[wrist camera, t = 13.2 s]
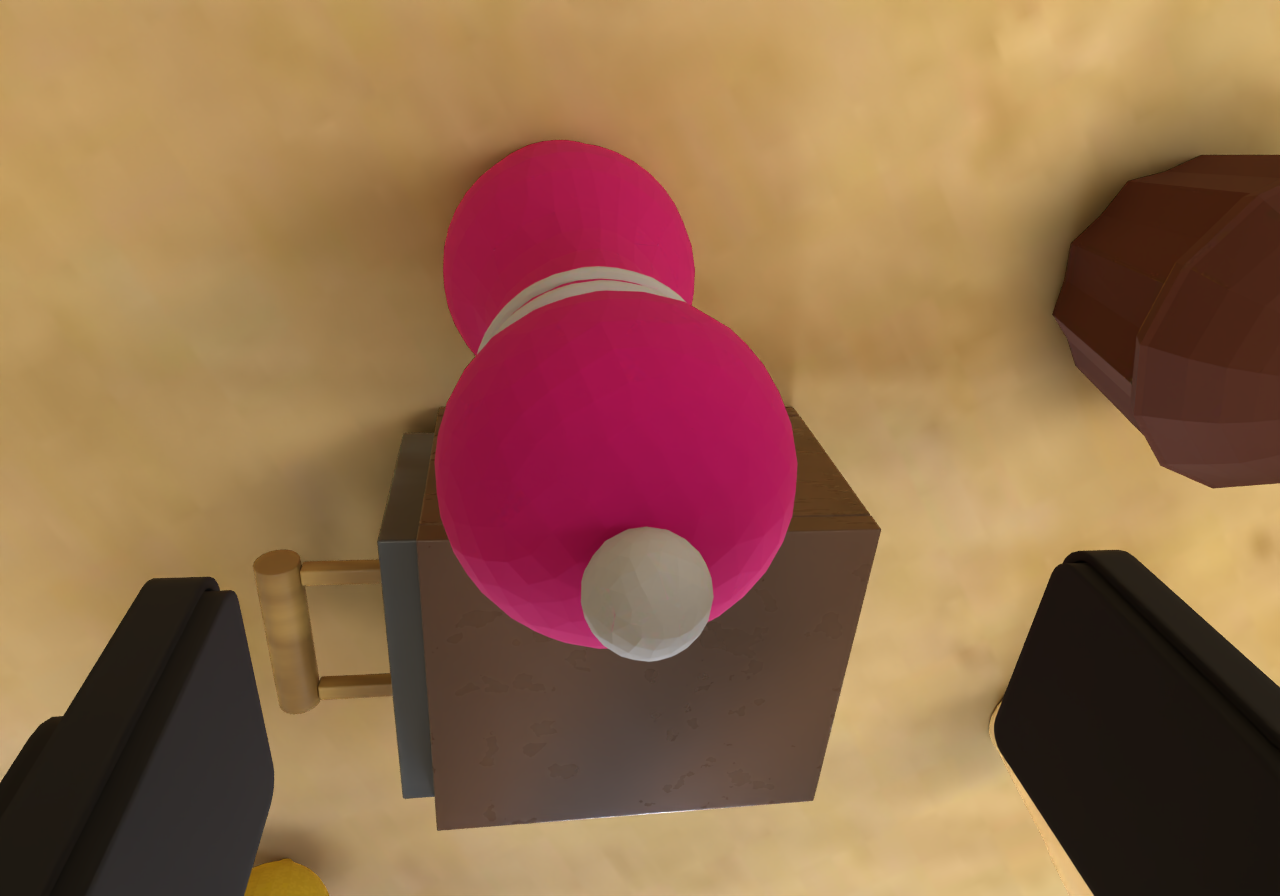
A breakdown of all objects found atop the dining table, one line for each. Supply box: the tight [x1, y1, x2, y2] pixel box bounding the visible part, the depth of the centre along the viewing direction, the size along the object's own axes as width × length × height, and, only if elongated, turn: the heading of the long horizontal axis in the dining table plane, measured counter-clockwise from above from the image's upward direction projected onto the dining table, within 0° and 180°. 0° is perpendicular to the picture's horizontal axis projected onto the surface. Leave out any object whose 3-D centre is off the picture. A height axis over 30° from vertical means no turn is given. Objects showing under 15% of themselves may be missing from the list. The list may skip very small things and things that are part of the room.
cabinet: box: [416, 407, 881, 831], centre depth 30 cm, size 14×12×9 cm
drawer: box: [253, 433, 435, 799], centre depth 29 cm, size 17×11×7 cm, turn 86°
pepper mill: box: [435, 140, 797, 662], centre depth 19 cm, size 7×7×20 cm
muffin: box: [1052, 155, 1280, 488], centre depth 27 cm, size 12×11×10 cm
